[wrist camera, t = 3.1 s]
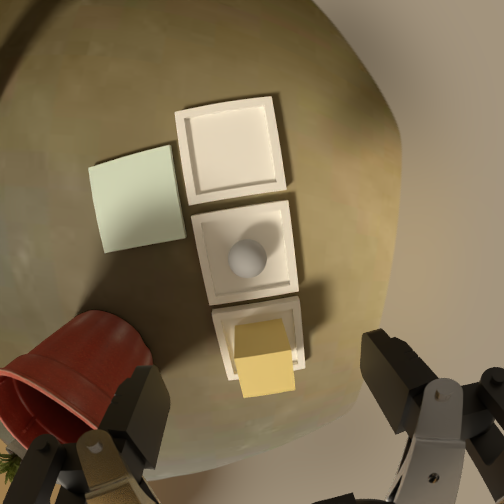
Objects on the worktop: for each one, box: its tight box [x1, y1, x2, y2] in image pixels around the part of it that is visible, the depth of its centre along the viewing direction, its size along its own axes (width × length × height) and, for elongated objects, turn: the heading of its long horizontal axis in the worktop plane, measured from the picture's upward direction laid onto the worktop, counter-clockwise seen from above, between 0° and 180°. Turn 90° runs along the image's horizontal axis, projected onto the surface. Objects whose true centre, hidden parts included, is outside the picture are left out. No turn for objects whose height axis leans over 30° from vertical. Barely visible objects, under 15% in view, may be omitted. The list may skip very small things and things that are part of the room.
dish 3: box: [212, 296, 305, 380], centre depth 29 cm, size 9×9×1 cm
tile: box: [88, 145, 187, 253], centre depth 25 cm, size 9×9×1 cm
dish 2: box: [191, 200, 299, 306], centre depth 27 cm, size 9×9×1 cm
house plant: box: [0, 439, 27, 484], centre depth 29 cm, size 14×14×16 cm
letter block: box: [234, 318, 295, 398], centre depth 26 cm, size 5×5×6 cm
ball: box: [228, 239, 267, 278], centre depth 25 cm, size 4×4×4 cm
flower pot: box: [0, 310, 153, 450], centre depth 22 cm, size 16×16×16 cm
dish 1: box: [175, 96, 287, 205], centre depth 24 cm, size 9×9×1 cm
